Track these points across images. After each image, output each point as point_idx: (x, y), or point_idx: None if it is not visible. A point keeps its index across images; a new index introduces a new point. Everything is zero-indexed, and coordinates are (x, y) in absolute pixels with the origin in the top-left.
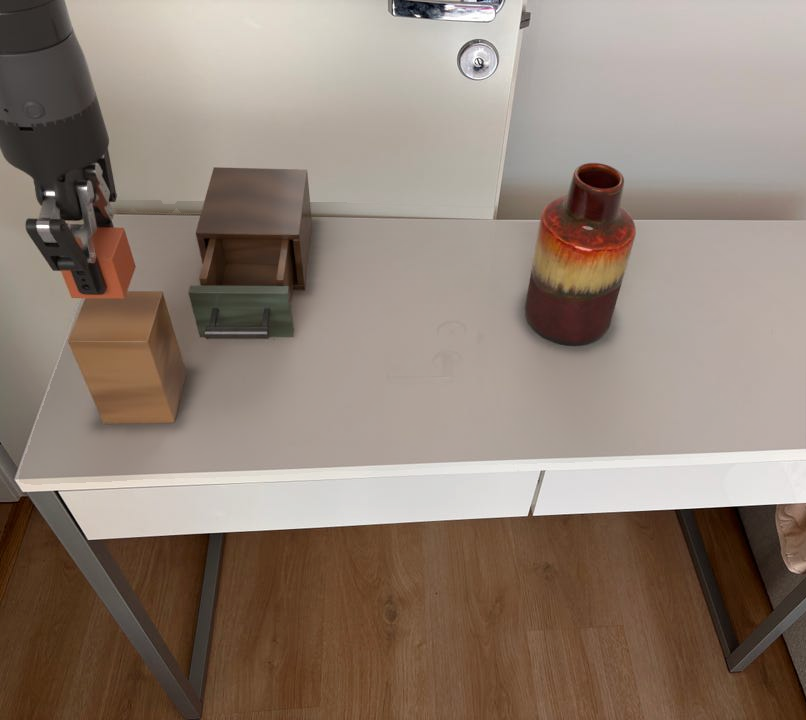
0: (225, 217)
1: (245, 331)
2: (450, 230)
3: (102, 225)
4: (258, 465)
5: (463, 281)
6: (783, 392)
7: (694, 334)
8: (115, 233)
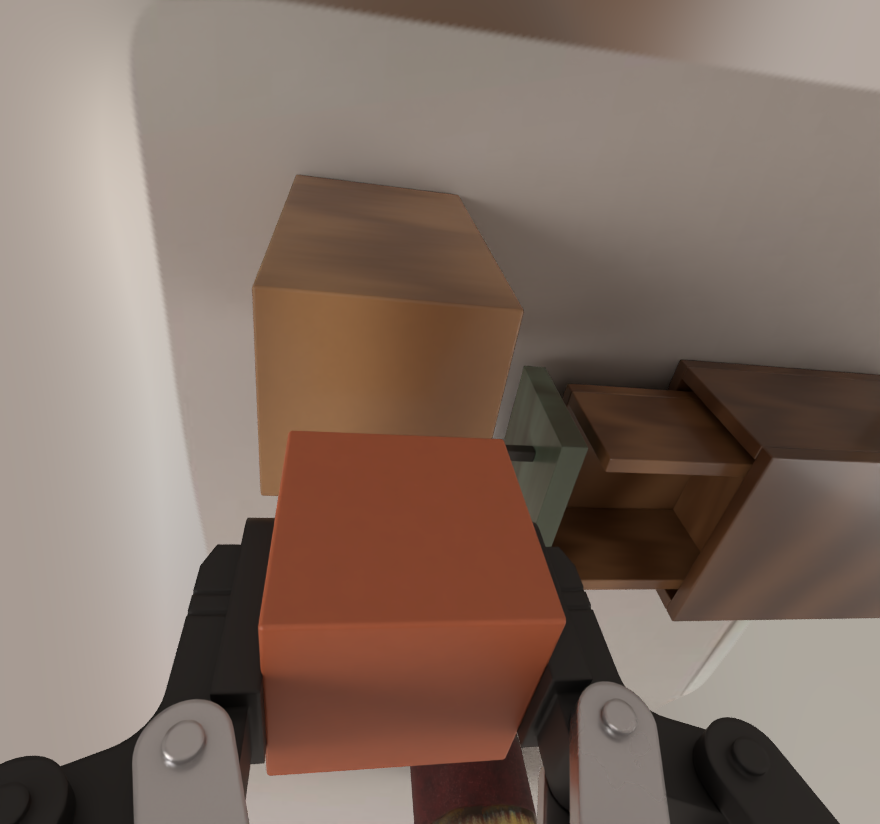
0: (799, 508)
1: None
2: (677, 663)
3: (528, 723)
4: (192, 463)
5: None
6: None
7: (412, 817)
8: (466, 749)
